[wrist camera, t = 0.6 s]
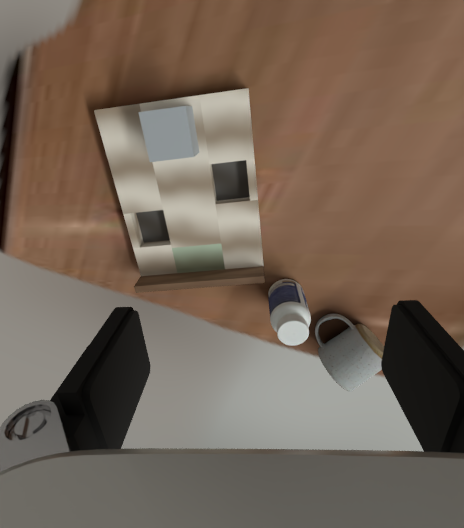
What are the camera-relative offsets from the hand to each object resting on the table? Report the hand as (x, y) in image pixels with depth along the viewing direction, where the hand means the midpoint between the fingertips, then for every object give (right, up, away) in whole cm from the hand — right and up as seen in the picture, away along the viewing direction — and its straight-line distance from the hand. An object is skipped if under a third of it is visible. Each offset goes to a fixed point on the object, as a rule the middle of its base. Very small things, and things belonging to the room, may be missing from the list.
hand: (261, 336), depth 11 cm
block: (-8, +18, +25) cm, 32 cm away
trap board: (-7, +12, +30) cm, 33 cm away
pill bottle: (+7, -2, +36) cm, 37 cm away
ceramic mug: (+17, -9, +39) cm, 44 cm away
